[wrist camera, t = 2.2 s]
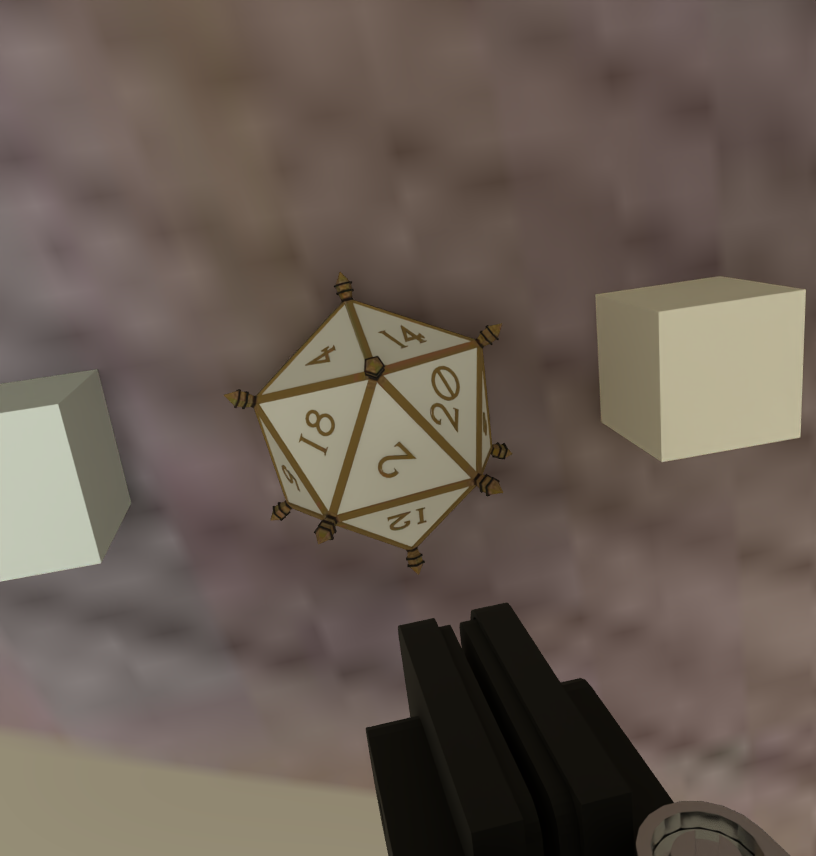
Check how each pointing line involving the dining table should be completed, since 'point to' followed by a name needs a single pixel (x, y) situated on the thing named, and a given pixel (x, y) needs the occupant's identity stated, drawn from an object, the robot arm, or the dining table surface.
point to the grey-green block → (57, 475)
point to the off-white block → (701, 365)
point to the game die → (379, 424)
